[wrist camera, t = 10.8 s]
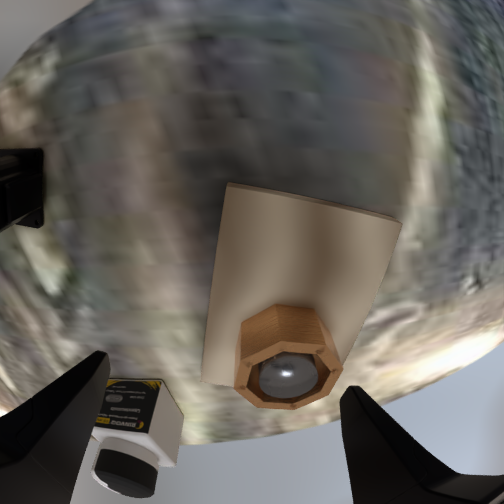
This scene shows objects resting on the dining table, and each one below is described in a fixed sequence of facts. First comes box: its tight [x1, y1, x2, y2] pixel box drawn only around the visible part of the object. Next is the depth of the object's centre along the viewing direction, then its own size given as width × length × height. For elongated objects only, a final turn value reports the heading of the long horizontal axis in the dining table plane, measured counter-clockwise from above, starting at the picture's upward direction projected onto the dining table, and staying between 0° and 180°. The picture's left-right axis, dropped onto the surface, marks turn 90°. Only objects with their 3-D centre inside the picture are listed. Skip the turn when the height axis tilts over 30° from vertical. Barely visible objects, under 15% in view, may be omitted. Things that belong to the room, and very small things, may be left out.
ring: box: [234, 304, 343, 410], centre depth 19 cm, size 7×7×4 cm
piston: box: [258, 351, 318, 398], centre depth 19 cm, size 4×4×4 cm
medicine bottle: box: [91, 379, 184, 498], centre depth 21 cm, size 7×7×12 cm
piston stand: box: [200, 182, 402, 386], centre depth 21 cm, size 12×17×2 cm
